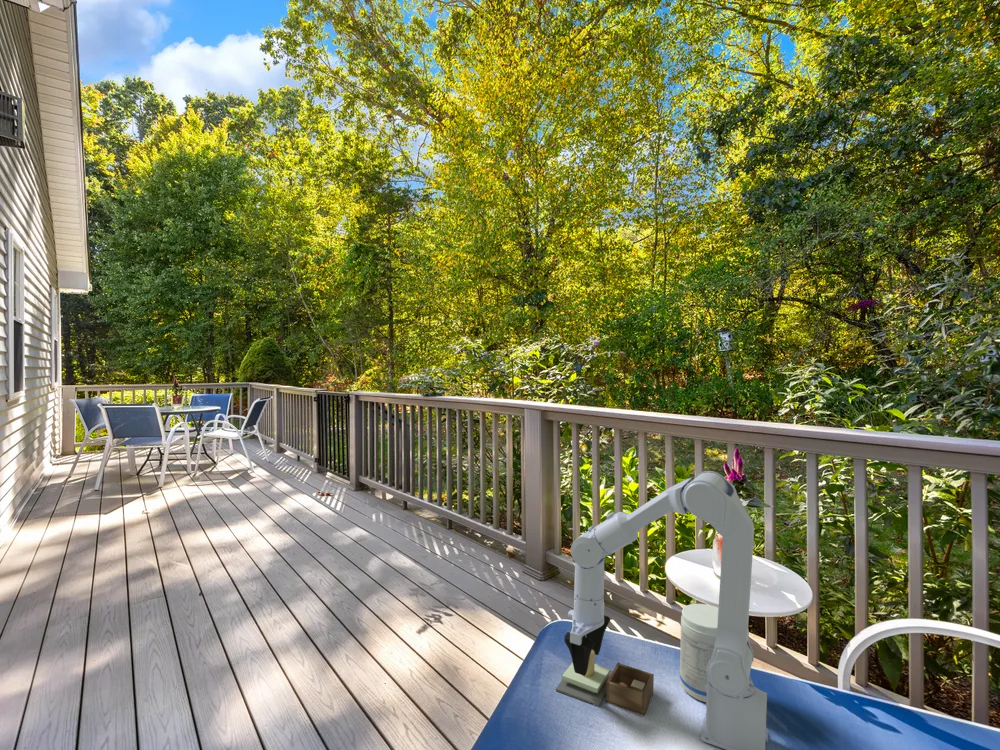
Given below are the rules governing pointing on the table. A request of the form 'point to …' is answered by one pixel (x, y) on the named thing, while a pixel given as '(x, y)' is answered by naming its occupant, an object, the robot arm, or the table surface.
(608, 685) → the box
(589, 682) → the lid
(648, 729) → the table surface
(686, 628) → the supplement tub
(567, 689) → the mat
